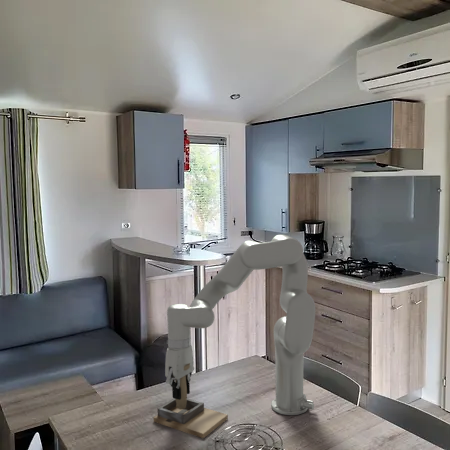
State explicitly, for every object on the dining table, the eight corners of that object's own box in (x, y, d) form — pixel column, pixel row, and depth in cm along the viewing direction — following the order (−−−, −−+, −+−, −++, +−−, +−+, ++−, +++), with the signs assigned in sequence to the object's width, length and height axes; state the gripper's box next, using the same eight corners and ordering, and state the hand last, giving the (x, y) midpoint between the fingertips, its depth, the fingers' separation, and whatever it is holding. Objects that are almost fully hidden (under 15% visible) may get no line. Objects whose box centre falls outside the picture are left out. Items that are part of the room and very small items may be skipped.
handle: (189, 411, 154) (187, 367, 153) (170, 410, 155) (168, 366, 153) (192, 404, 158) (191, 361, 157) (173, 403, 159) (172, 360, 158)
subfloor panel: (227, 418, 155) (227, 407, 155) (203, 438, 143) (203, 425, 143) (179, 404, 166) (179, 393, 166) (153, 421, 154) (153, 410, 154)
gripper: (185, 333, 164) (187, 384, 165) (154, 347, 150) (156, 403, 151) (203, 336, 160) (204, 388, 161) (172, 351, 146) (174, 408, 147)
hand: (181, 395), depth 156 cm, fingers closed on handle, 3 cm apart
